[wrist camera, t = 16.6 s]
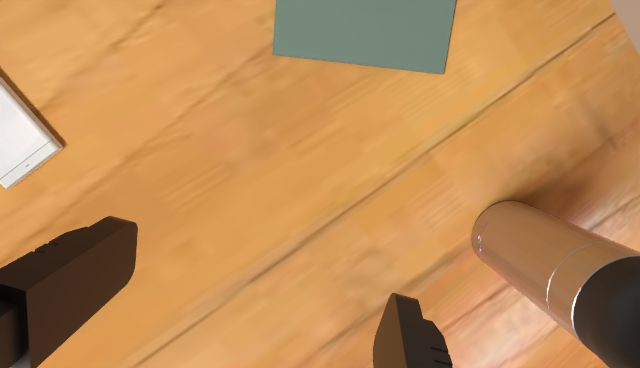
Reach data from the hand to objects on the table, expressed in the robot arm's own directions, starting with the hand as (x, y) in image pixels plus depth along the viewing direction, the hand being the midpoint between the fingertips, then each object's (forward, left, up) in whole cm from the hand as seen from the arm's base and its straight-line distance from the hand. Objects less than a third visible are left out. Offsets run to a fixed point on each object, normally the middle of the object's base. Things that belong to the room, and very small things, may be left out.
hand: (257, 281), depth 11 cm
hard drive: (+33, 0, -33) cm, 47 cm away
